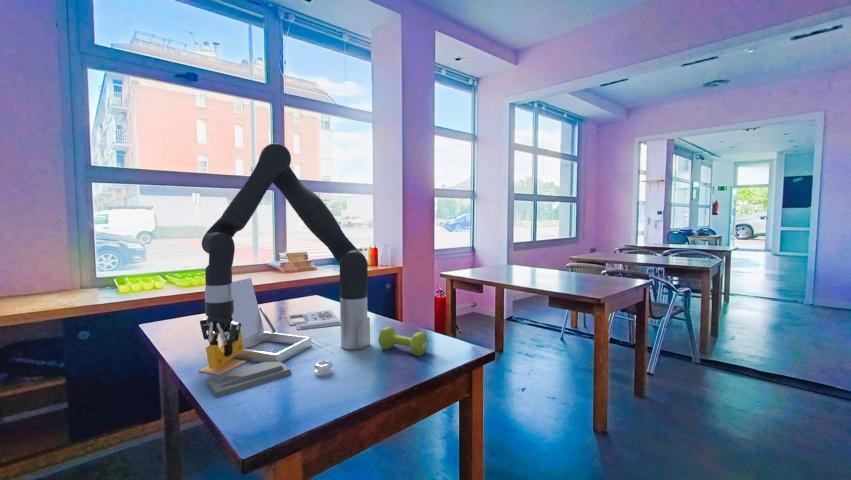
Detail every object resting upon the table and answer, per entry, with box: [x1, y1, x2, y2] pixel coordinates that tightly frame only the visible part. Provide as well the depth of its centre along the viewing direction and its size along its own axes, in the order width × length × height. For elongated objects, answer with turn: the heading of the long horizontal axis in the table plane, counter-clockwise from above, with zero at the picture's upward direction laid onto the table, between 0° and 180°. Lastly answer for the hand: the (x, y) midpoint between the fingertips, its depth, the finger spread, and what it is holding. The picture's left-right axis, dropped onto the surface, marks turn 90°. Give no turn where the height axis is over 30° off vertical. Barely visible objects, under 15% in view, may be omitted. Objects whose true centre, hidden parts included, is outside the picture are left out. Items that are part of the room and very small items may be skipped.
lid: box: [219, 277, 265, 344], centre depth 135 cm, size 20×18×1 cm
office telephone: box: [285, 309, 341, 331], centre depth 167 cm, size 23×3×20 cm
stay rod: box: [258, 306, 276, 332], centre depth 143 cm, size 7×1×10 cm, turn 70°
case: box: [232, 330, 312, 363], centre depth 132 cm, size 20×19×3 cm
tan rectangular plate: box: [198, 358, 247, 376], centre depth 118 cm, size 8×10×1 cm
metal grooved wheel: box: [314, 360, 333, 377], centre depth 114 cm, size 5×3×5 cm
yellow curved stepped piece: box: [205, 330, 244, 369], centre depth 119 cm, size 12×4×6 cm, turn 169°
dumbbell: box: [378, 326, 429, 357], centre depth 131 cm, size 16×8×7 cm, turn 61°
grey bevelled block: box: [205, 360, 292, 398], centre depth 110 cm, size 10×20×4 cm, turn 134°
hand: (221, 354), depth 118 cm, fingers closed on yellow curved stepped piece, 4 cm apart
